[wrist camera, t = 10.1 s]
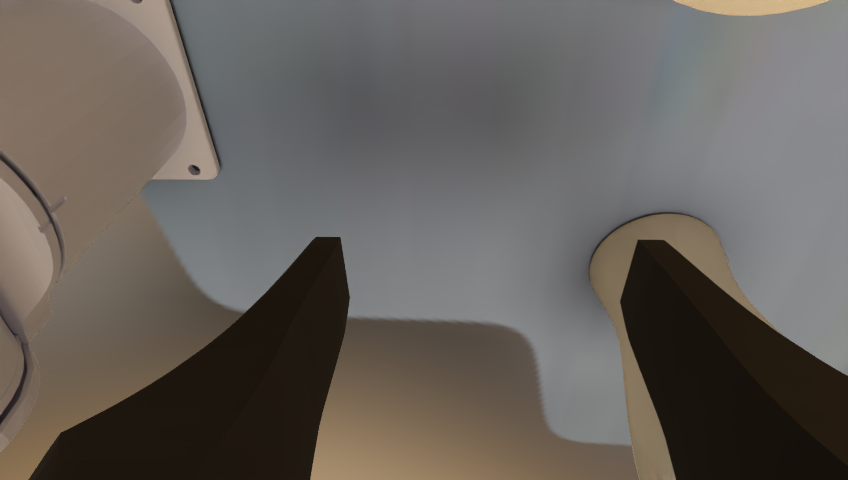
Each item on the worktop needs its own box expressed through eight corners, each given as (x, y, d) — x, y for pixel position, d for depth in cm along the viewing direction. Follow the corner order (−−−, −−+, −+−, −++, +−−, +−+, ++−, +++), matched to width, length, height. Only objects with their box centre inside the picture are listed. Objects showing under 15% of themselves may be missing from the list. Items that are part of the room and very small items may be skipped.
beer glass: (555, 294, 27) (637, 658, 15) (626, 185, 22) (820, 567, 11) (674, 326, 28) (841, 690, 16) (762, 227, 23) (1080, 619, 12)
